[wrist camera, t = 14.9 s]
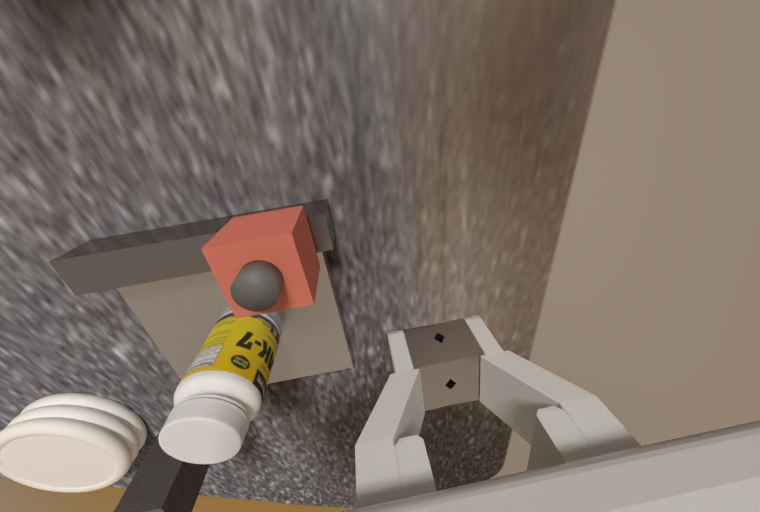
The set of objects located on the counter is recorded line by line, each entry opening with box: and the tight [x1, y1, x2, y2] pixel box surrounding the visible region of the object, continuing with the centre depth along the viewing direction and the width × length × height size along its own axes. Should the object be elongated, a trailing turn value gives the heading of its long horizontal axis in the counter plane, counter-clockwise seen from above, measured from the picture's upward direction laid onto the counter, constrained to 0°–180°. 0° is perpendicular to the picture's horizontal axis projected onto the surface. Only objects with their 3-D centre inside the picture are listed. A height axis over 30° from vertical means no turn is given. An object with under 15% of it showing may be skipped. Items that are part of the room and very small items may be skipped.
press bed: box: [49, 199, 354, 512], centre depth 19 cm, size 16×17×10 cm
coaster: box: [0, 393, 147, 492], centre depth 26 cm, size 10×10×4 cm
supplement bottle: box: [158, 311, 280, 464], centre depth 18 cm, size 5×5×8 cm
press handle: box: [201, 206, 320, 319], centre depth 15 cm, size 4×4×5 cm
